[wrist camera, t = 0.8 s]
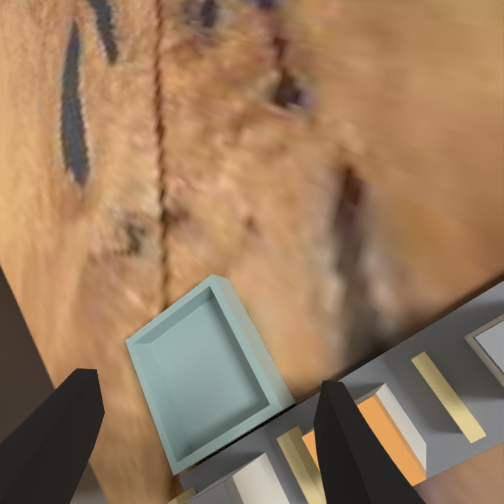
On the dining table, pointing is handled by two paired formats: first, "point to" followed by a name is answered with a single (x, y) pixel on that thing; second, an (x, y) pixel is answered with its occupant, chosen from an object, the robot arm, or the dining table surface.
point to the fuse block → (407, 394)
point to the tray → (206, 373)
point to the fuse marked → (389, 433)
